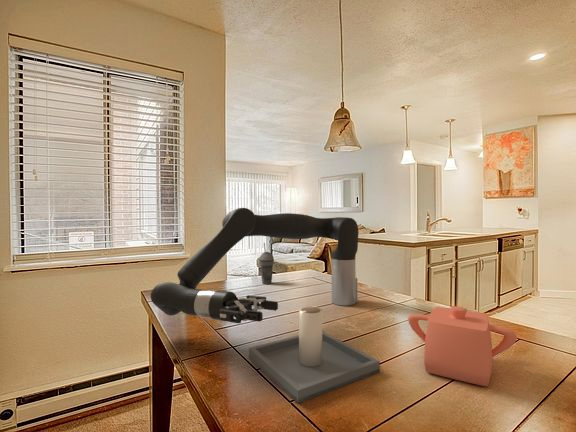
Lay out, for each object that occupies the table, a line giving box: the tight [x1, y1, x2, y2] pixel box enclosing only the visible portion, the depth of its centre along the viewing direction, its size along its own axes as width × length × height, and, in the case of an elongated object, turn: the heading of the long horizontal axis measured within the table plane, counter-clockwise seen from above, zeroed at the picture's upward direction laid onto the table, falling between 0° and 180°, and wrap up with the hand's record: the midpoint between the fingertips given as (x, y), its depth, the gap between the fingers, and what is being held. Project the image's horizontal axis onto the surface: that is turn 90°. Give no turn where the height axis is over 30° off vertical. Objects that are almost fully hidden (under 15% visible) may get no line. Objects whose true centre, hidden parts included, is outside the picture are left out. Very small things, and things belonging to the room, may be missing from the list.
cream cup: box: [298, 306, 323, 367], centre depth 76 cm, size 6×6×12 cm
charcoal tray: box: [248, 330, 381, 405], centre depth 76 cm, size 22×22×2 cm
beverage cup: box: [258, 242, 275, 285], centre depth 158 cm, size 7×7×20 cm
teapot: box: [407, 305, 518, 387], centre depth 76 cm, size 20×22×14 cm
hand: (270, 311), depth 80 cm, fingers open, 8 cm apart
